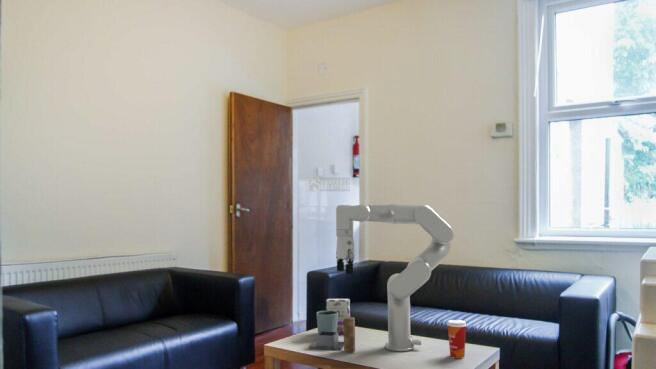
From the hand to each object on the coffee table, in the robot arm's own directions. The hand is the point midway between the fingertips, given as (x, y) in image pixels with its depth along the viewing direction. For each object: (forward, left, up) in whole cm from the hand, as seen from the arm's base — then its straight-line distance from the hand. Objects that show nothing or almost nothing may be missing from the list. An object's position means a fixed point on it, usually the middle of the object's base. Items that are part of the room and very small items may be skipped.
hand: (344, 272), depth 218 cm
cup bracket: (+8, 0, -32) cm, 33 cm away
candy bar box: (+8, -23, -33) cm, 40 cm away
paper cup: (-47, +4, -33) cm, 57 cm away
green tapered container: (+11, -13, -33) cm, 37 cm away
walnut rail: (-3, +6, -32) cm, 33 cm away
